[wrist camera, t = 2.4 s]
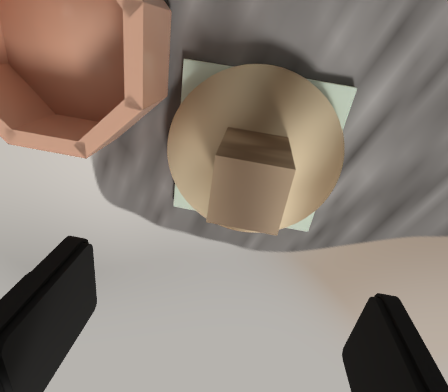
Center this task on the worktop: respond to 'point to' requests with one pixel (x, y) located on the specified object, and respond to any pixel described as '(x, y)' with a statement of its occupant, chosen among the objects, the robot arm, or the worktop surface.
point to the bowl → (80, 70)
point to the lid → (255, 148)
